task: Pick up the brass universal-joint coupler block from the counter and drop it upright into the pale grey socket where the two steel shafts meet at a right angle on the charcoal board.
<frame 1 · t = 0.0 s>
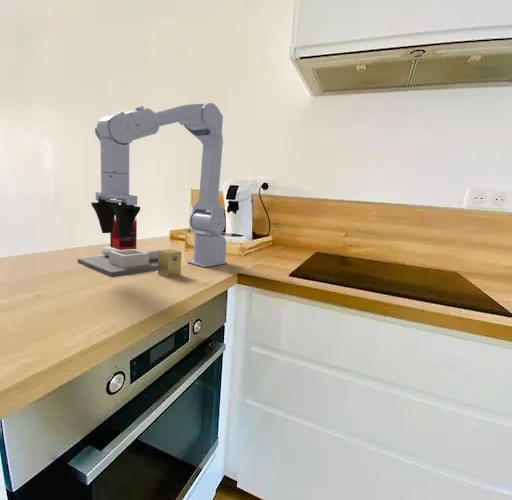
hand: (115, 235, 72), 10 cm above the worktop, tool pointing down, fingers open, 7 cm apart
canned food: (123, 252, 103), on the worktop
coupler: (169, 274, 80), on the worktop
shaft board: (126, 264, 87), on the worktop
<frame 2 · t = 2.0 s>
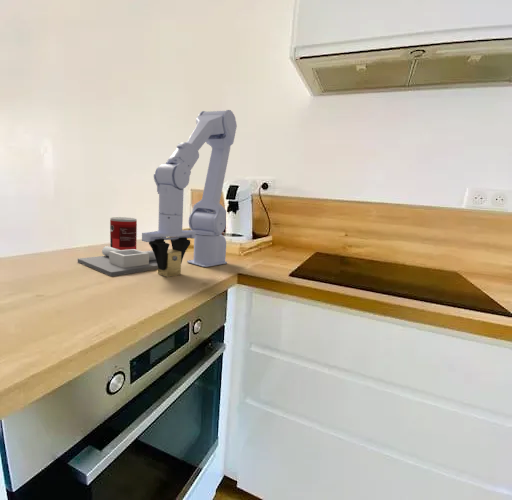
hand: (169, 268, 80), 2 cm above the worktop, tool pointing down, fingers closed on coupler, 4 cm apart
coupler: (169, 274, 80), on the worktop, touching gripper
everything else where it was.
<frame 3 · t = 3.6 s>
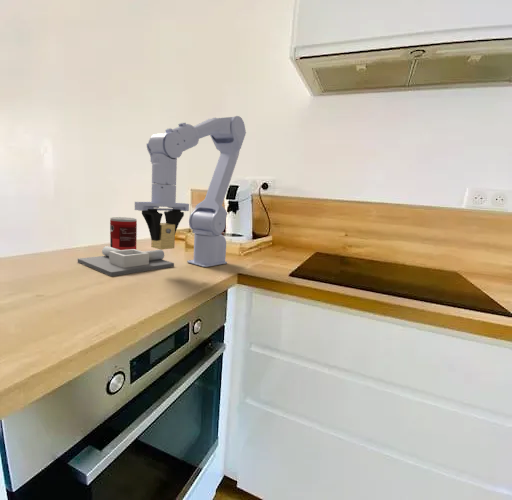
hand: (162, 239, 80), 9 cm above the worktop, tool pointing down, fingers closed on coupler, 4 cm apart
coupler: (162, 247, 80), point 7 cm above the worktop, touching gripper
everything else where it was.
when the fingers open (5 cm above the worktop, at t = 5.5 s): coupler drops 2 cm, resting on shaft board.
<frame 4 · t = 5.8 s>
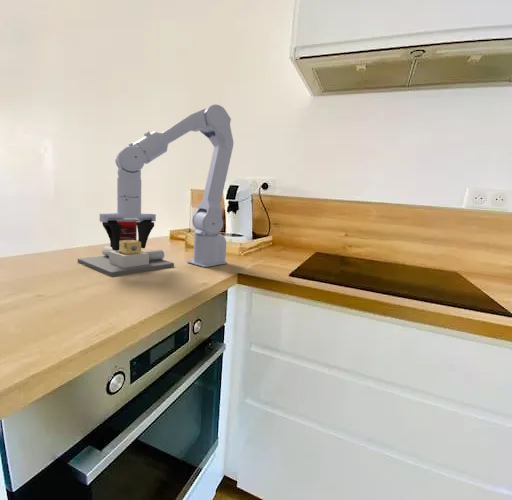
hand: (129, 248, 84), 5 cm above the worktop, tool pointing down, fingers open, 7 cm apart
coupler: (129, 263, 84), point 1 cm above the worktop, touching shaft board
everything else where it was.
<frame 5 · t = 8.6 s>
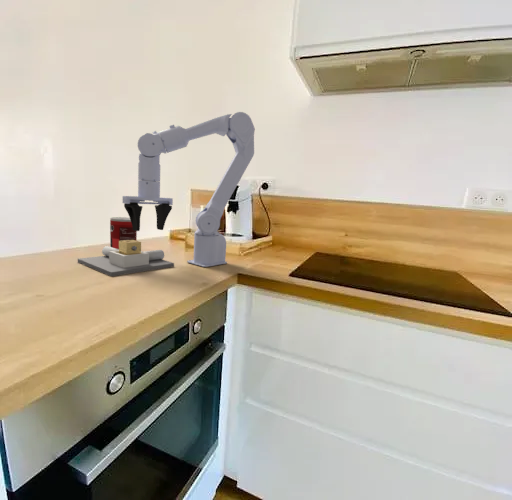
hand: (148, 230, 90), 9 cm above the worktop, tool pointing down, fingers open, 7 cm apart
nothing on the worktop moved.
at the end: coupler 0.4 cm from the target spot, point 1.0 cm above the worktop; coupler tilted 0°; the gripper is holding nothing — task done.
